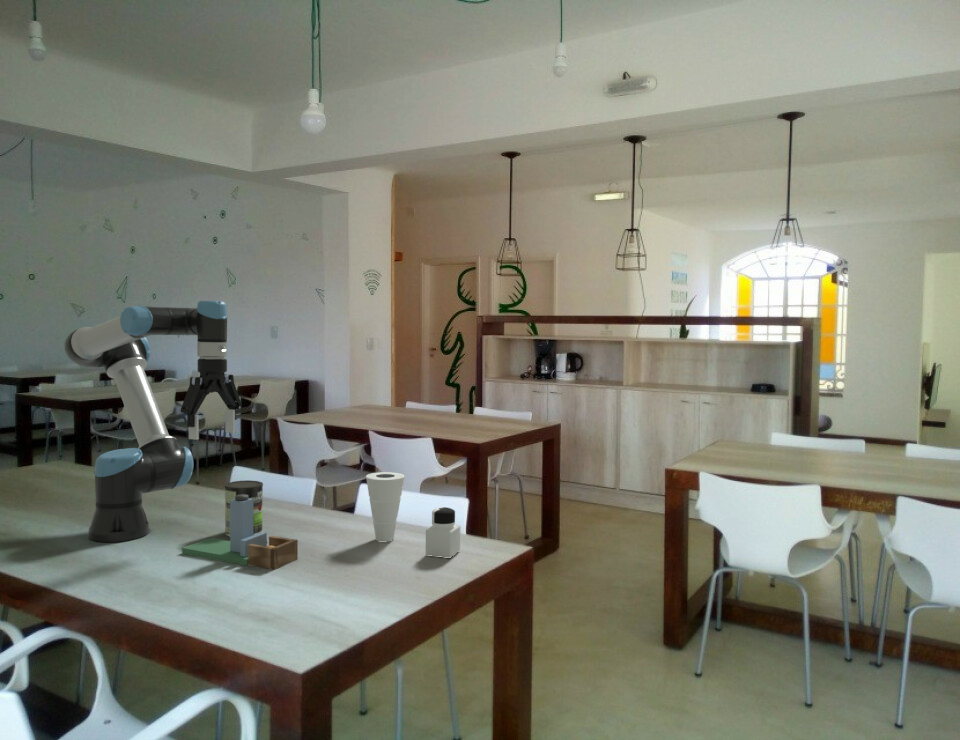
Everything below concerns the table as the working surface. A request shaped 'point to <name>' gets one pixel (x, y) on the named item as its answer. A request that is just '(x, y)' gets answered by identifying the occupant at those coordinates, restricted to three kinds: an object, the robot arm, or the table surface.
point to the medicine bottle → (443, 533)
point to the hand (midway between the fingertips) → (212, 435)
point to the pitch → (215, 551)
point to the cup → (385, 502)
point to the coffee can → (253, 492)
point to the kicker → (243, 526)
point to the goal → (273, 553)
